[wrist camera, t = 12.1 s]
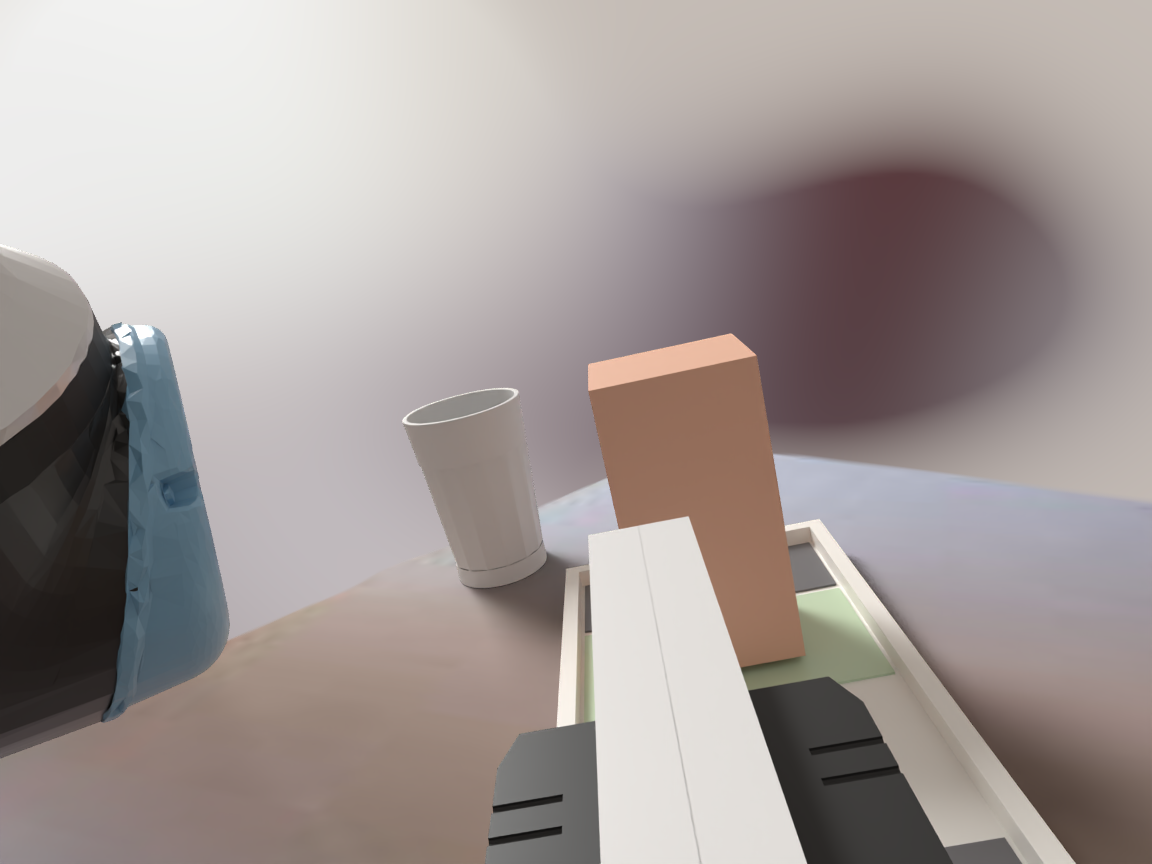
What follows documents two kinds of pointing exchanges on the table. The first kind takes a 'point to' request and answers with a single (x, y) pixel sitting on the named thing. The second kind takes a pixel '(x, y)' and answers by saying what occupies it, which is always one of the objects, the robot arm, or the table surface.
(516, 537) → the cup
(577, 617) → the sorting tray
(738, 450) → the block
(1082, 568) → the table surface
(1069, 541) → the table surface
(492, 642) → the table surface
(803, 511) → the table surface
